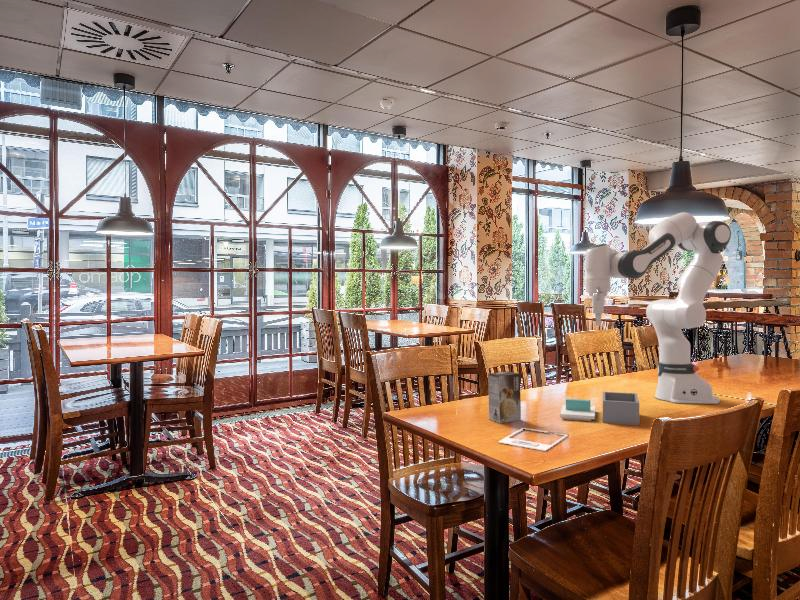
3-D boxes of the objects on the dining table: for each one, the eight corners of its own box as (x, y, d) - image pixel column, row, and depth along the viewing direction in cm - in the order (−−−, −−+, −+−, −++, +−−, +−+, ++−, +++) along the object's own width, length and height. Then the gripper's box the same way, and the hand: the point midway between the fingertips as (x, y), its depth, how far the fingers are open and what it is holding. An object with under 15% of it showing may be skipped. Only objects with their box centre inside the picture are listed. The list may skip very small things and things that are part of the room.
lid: (595, 412, 197) (595, 396, 196) (594, 422, 182) (594, 405, 182) (563, 410, 200) (562, 394, 200) (559, 420, 186) (559, 403, 186)
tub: (636, 416, 192) (636, 393, 192) (639, 427, 178) (639, 402, 177) (602, 414, 196) (602, 391, 195) (602, 425, 182) (602, 400, 181)
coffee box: (509, 416, 195) (509, 370, 194) (521, 420, 189) (521, 373, 189) (488, 419, 191) (487, 373, 190) (499, 423, 185) (499, 376, 184)
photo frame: (497, 441, 163) (523, 427, 178) (497, 444, 163) (523, 430, 178) (545, 449, 155) (568, 434, 169) (545, 453, 155) (568, 438, 169)
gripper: (607, 287, 199) (607, 326, 199) (606, 286, 218) (607, 321, 219) (588, 288, 201) (589, 326, 202) (589, 286, 220) (590, 321, 221)
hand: (598, 323), depth 210 cm, fingers open, 8 cm apart
